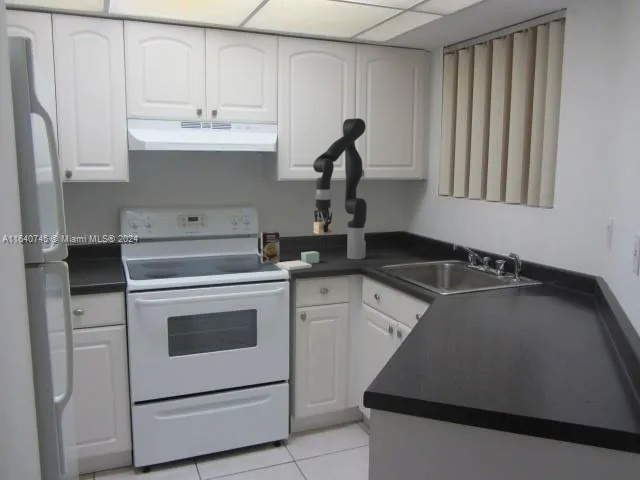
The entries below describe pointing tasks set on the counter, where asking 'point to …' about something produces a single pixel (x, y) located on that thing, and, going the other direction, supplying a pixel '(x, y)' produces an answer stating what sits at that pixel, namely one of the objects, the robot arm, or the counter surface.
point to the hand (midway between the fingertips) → (322, 231)
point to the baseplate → (294, 265)
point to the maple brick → (321, 228)
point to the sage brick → (310, 257)
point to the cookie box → (269, 247)
